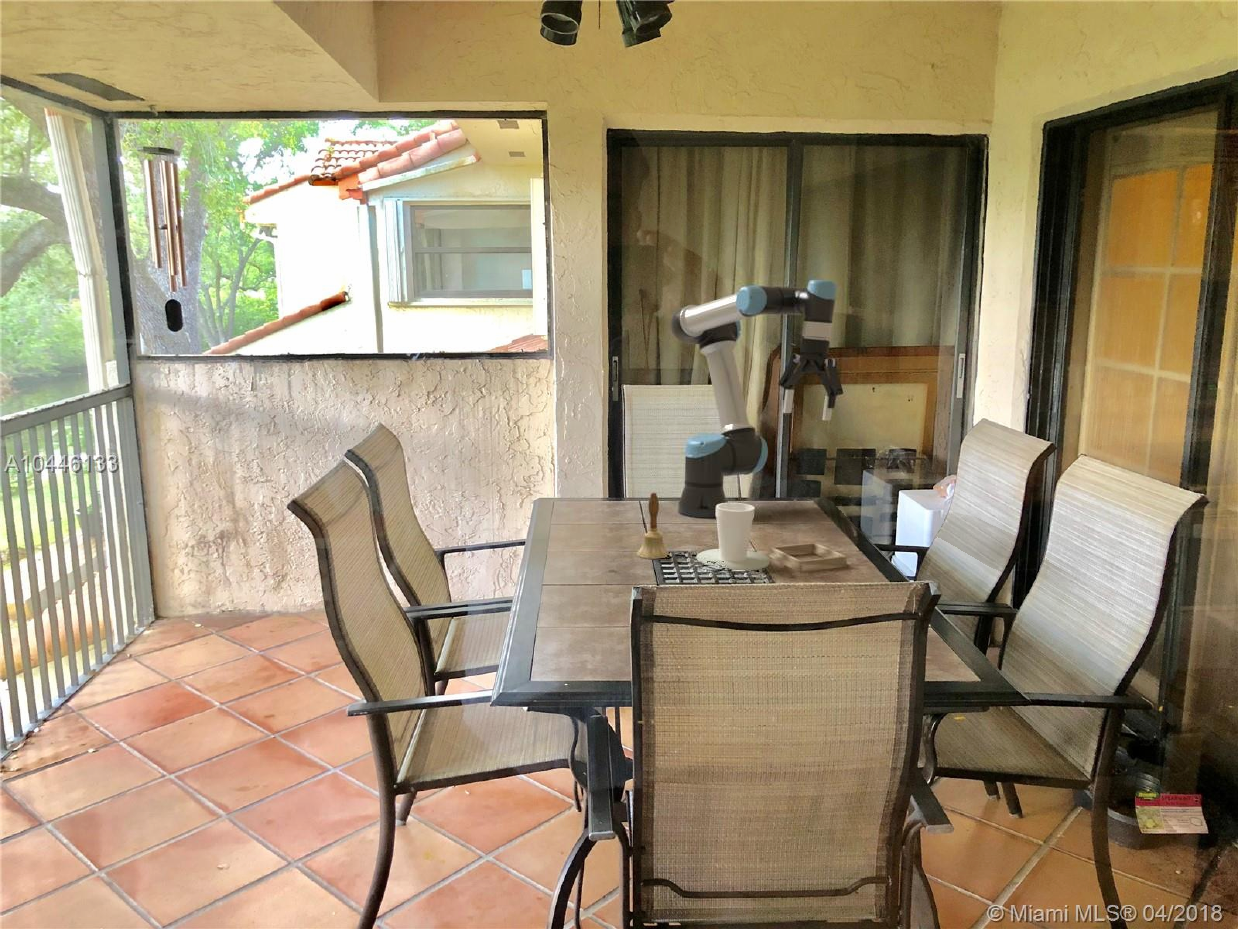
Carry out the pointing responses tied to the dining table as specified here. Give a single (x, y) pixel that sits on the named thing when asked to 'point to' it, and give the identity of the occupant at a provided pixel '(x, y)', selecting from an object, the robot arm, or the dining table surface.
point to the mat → (751, 562)
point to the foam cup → (734, 530)
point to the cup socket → (827, 562)
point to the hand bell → (653, 535)
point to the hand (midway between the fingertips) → (806, 416)
